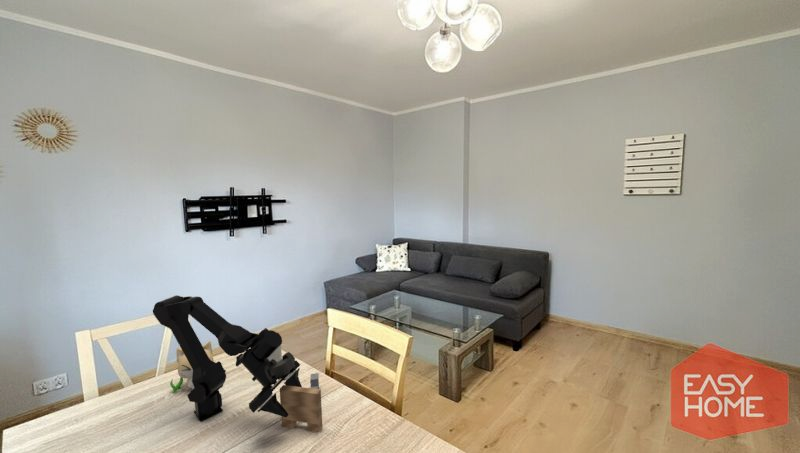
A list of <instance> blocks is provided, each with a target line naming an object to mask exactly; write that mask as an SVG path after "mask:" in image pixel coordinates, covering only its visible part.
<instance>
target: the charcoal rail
mask: <svg viewBox="0 0 800 453" xmlns="http://www.w3.org/2000/svg"><path fill="white" fill-rule="evenodd" d="M319 381H320V380H319V373H318V372H317V373H311V374H310V381H309V382H310V388H311V389H319V388H320V382H319ZM319 390H320V389H319Z"/></svg>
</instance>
